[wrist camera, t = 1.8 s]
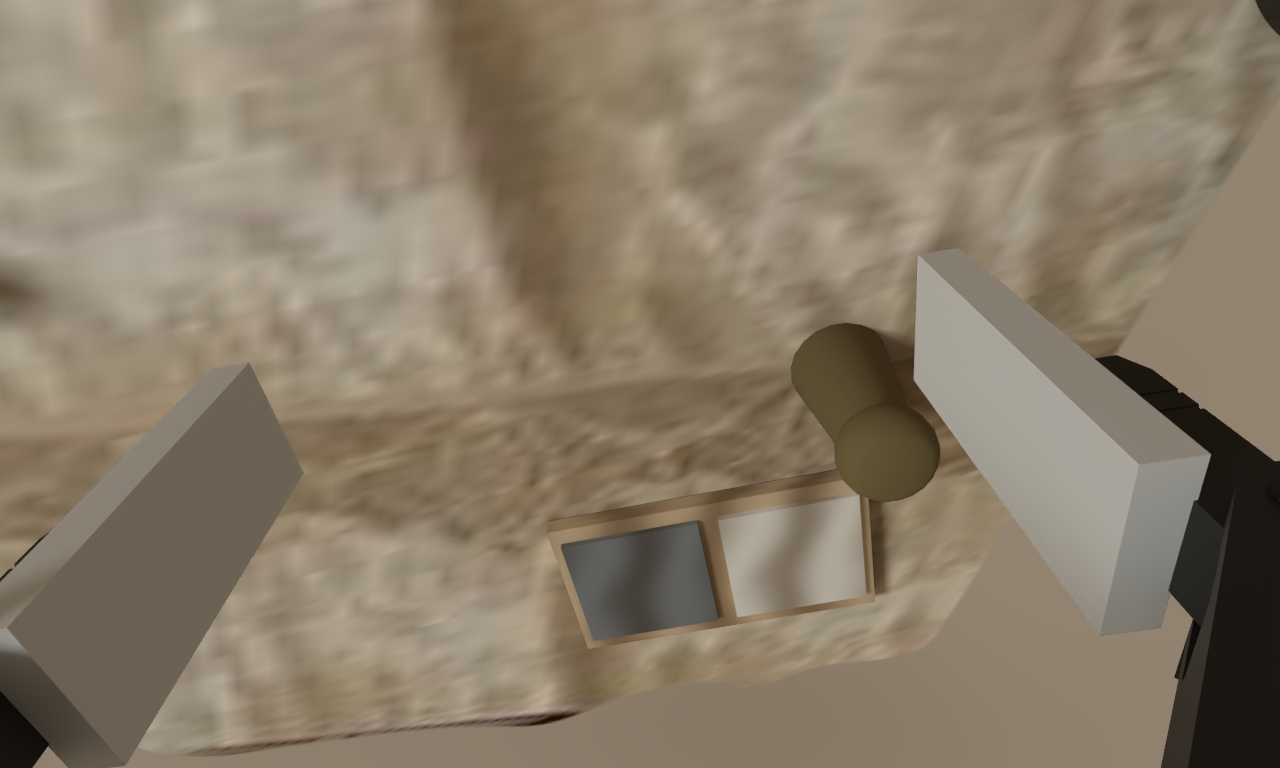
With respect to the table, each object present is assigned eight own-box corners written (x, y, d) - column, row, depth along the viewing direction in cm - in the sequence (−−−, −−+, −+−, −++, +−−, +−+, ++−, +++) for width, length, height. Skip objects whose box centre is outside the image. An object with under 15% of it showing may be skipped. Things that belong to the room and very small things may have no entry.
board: (861, 465, 49) (868, 479, 48) (870, 589, 55) (876, 605, 54) (548, 521, 51) (546, 536, 50) (589, 636, 57) (588, 653, 56)
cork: (772, 357, 45) (814, 463, 36) (860, 304, 43) (928, 400, 34) (819, 423, 48) (869, 538, 38) (903, 375, 46) (978, 483, 36)
